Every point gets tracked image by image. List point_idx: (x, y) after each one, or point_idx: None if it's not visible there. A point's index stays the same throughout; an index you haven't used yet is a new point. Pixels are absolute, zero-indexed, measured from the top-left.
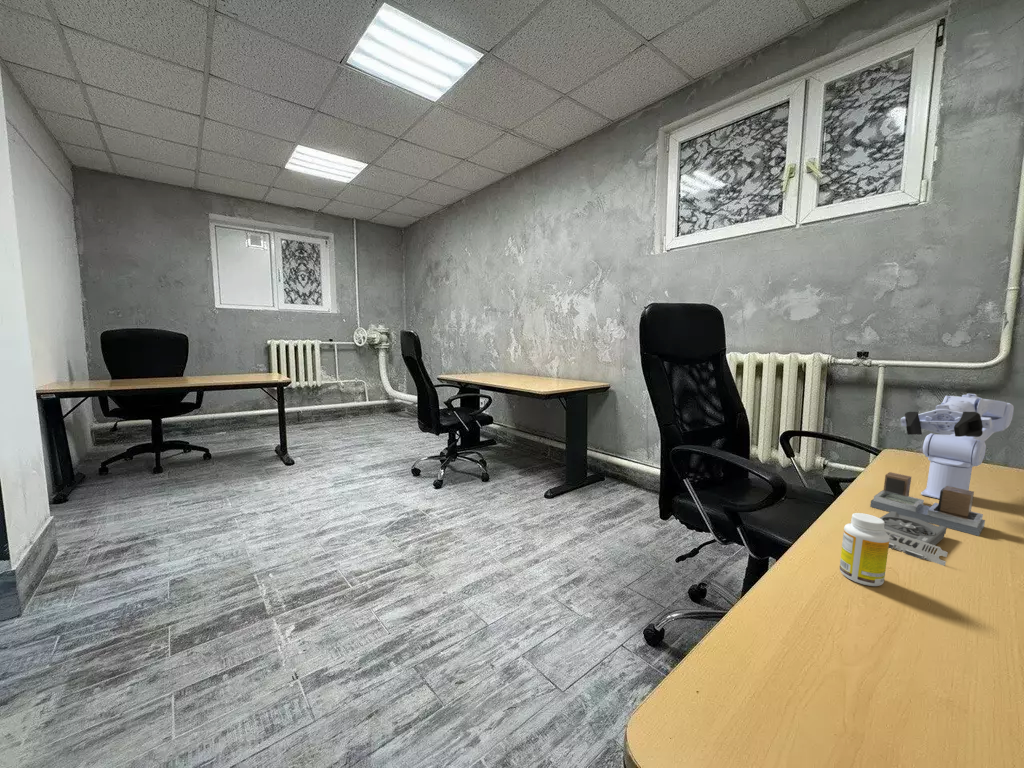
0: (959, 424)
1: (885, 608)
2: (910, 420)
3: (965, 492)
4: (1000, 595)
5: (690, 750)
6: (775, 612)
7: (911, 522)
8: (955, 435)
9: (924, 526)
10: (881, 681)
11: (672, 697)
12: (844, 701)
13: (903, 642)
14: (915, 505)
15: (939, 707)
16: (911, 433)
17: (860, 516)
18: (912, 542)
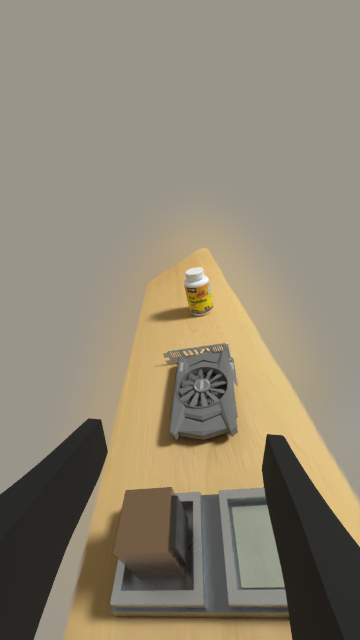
0: (70, 437)
1: (184, 300)
2: (315, 510)
3: (132, 510)
4: (137, 352)
5: (197, 251)
6: (212, 274)
7: (203, 407)
8: (105, 448)
9: (189, 405)
10: (175, 278)
11: (207, 251)
12: (180, 270)
13: (173, 291)
14: (222, 500)
15: (161, 281)
16: (263, 467)
17: (198, 269)
18: (187, 351)
